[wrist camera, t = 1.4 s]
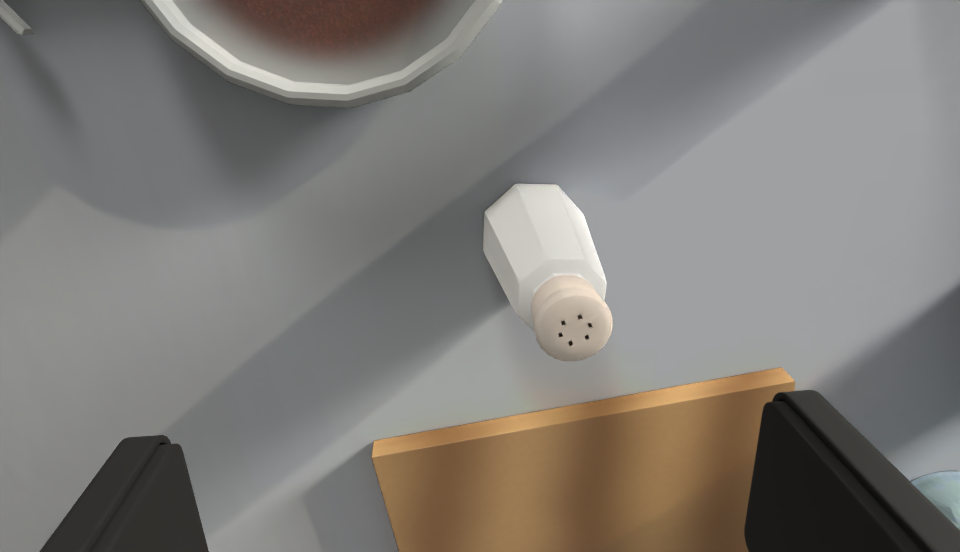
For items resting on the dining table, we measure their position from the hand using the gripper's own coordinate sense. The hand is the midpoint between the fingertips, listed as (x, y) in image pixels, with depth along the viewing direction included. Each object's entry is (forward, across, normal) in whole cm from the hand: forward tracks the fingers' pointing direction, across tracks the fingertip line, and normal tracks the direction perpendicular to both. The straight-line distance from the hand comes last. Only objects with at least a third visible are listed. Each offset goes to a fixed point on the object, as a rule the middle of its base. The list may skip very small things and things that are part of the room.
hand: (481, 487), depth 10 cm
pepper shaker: (+23, -4, +3) cm, 23 cm away
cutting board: (+23, -8, +22) cm, 33 cm away
